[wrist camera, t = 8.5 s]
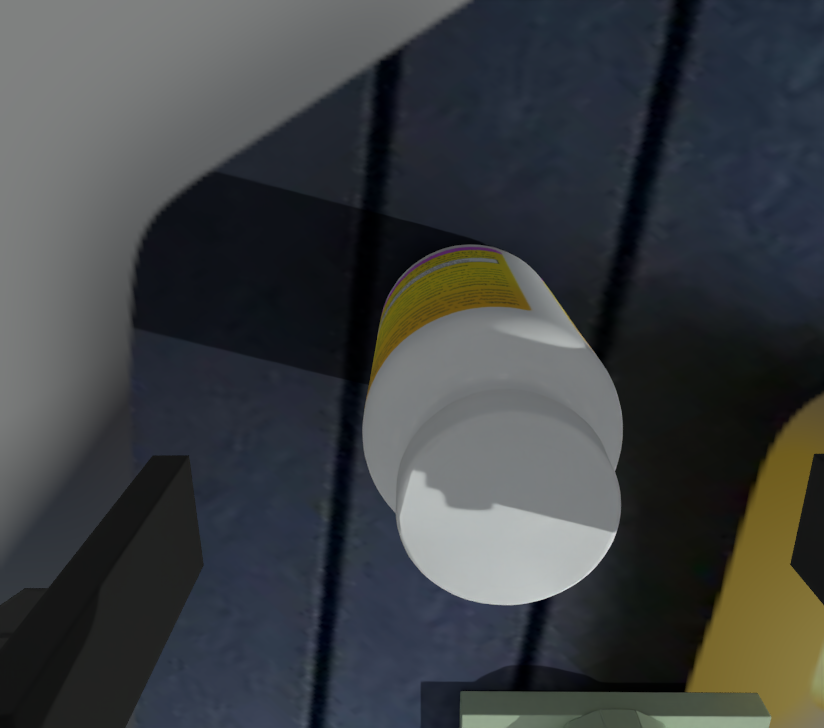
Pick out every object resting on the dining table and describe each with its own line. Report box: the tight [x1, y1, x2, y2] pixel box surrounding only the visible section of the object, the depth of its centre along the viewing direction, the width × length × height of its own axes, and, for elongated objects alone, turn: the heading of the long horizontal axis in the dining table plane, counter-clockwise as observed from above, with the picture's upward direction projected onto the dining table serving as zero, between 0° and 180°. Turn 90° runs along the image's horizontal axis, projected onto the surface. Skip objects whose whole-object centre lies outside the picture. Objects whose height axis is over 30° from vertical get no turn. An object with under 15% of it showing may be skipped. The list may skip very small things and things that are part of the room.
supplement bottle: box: [363, 244, 623, 605], centre depth 20 cm, size 7×7×13 cm
